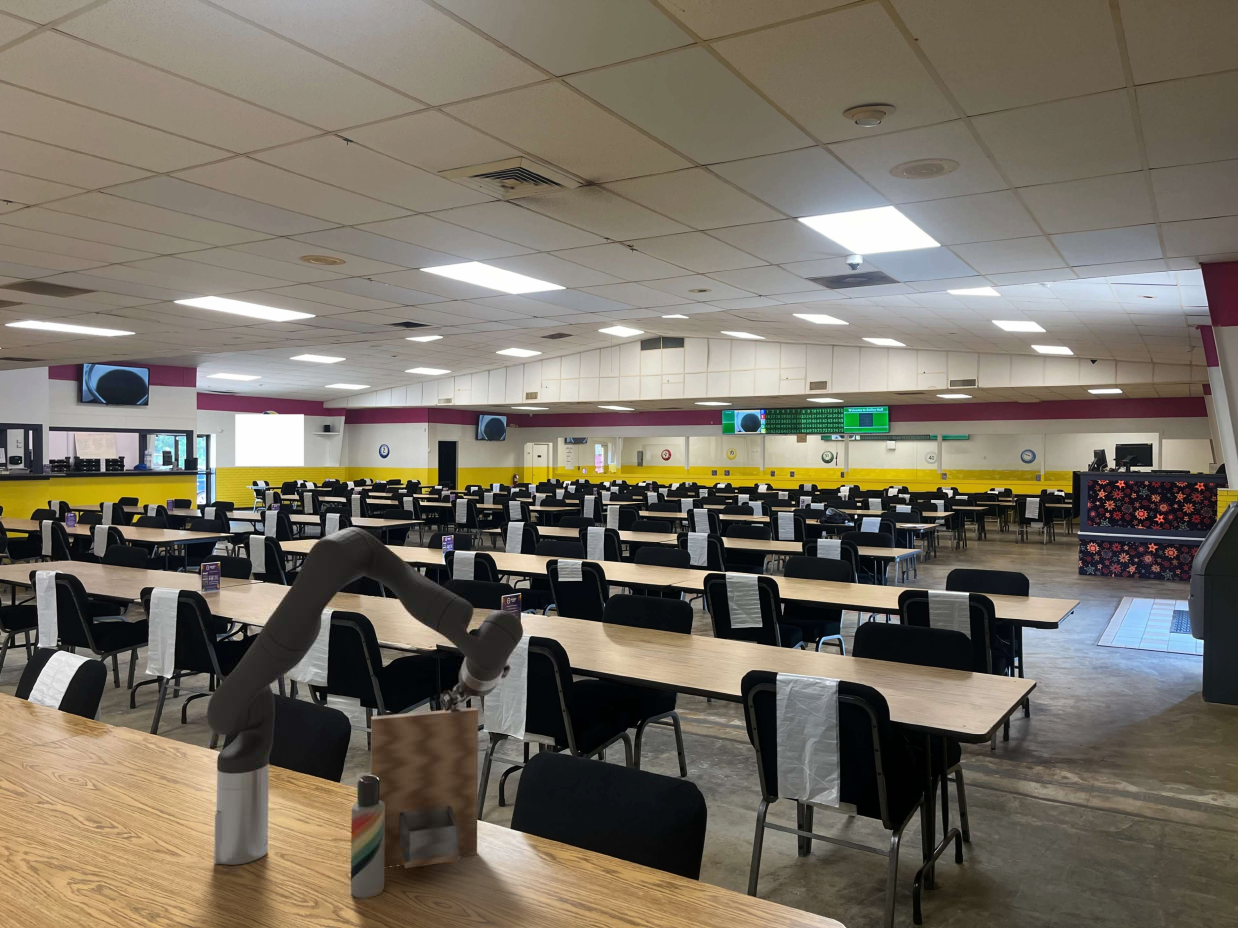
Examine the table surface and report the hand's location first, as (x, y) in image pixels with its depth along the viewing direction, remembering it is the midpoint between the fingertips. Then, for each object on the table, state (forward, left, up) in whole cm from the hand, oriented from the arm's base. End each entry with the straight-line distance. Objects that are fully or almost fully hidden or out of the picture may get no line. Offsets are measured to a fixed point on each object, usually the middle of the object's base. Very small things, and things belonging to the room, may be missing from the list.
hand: (470, 694), depth 169 cm
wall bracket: (-9, -10, -30) cm, 33 cm away
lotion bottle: (-20, -13, -30) cm, 39 cm away
